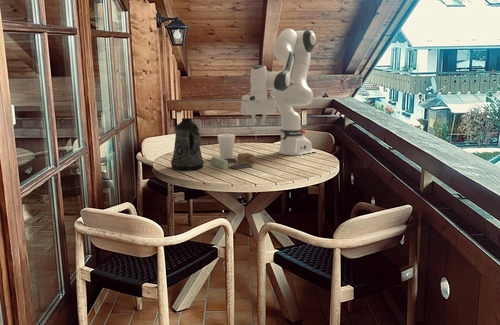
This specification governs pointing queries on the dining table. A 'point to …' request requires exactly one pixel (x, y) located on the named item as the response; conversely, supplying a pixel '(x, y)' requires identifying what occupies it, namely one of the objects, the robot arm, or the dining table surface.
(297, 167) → the dining table surface
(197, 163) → the beer stein
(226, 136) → the foam cup
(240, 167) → the trap pair
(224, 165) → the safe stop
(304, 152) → the robot arm
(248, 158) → the walnut block
